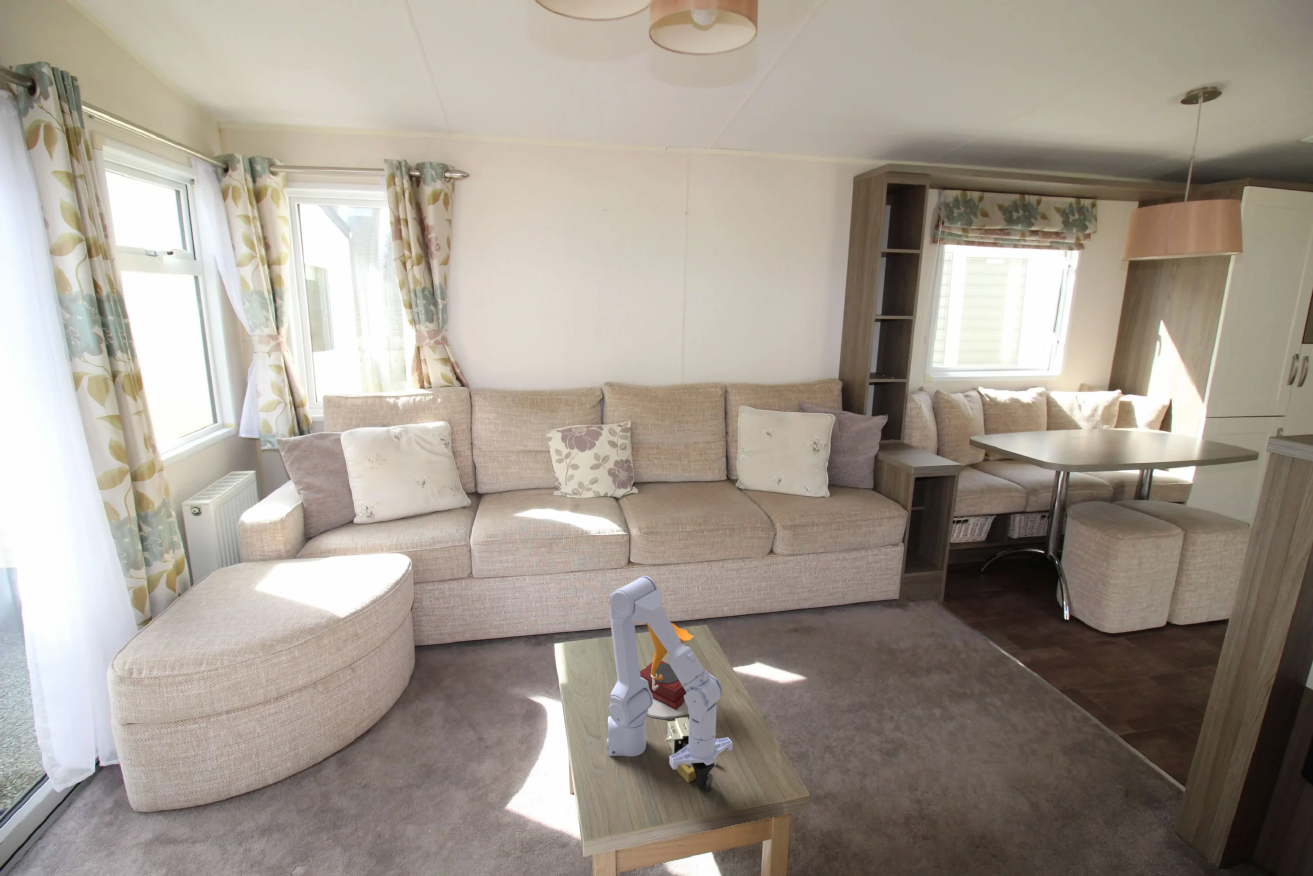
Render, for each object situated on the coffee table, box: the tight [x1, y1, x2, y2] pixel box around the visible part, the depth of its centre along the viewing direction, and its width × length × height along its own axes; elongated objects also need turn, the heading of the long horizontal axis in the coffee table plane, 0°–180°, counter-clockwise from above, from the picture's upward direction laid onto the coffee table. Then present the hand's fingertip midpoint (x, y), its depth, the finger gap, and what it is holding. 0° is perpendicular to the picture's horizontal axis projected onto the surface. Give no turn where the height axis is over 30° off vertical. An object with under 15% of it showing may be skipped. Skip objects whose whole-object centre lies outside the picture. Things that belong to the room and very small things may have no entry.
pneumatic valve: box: [665, 715, 717, 755], centre depth 146 cm, size 6×12×12 cm
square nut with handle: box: [674, 763, 714, 793], centre depth 135 cm, size 5×10×3 cm, turn 36°
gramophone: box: [640, 622, 695, 720], centre depth 162 cm, size 20×20×25 cm
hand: (700, 785), depth 132 cm, fingers closed, pressing on square nut with handle
